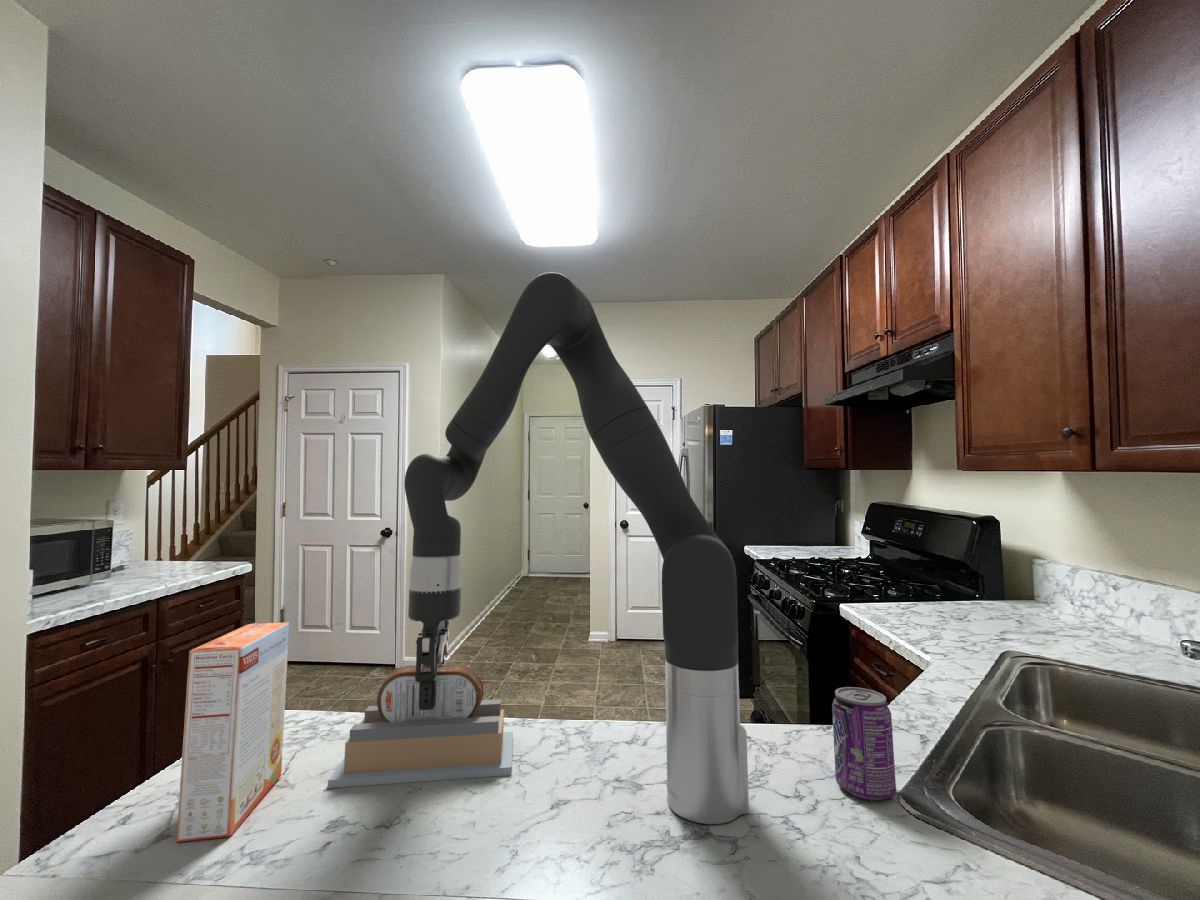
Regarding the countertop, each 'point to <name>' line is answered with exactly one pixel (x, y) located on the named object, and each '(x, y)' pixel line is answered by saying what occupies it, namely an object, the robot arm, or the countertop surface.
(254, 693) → the cracker box
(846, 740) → the beverage can
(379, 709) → the tin
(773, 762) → the countertop surface
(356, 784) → the grey tan slotted stand
